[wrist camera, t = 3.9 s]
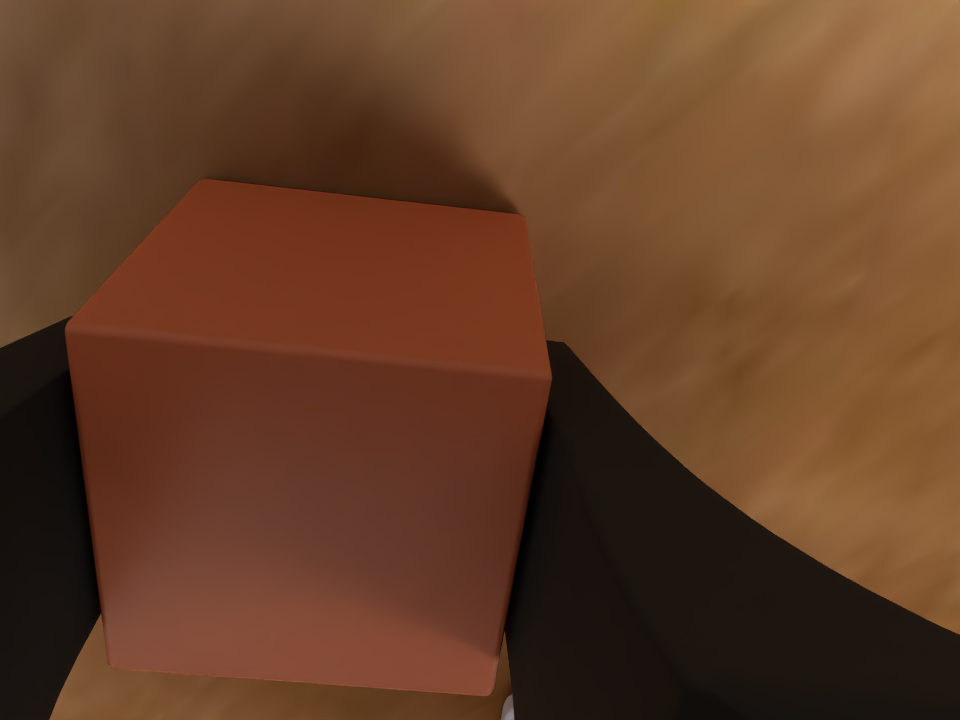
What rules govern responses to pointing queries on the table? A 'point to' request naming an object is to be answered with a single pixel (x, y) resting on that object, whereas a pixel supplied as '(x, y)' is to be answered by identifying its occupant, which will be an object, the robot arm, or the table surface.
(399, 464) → the block
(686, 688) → the robot arm
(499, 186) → the table surface
